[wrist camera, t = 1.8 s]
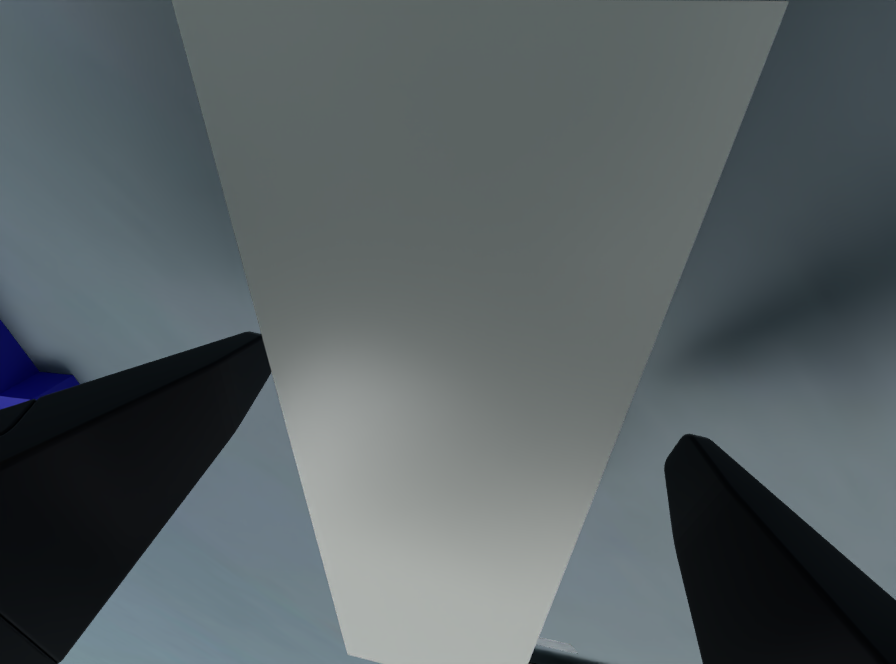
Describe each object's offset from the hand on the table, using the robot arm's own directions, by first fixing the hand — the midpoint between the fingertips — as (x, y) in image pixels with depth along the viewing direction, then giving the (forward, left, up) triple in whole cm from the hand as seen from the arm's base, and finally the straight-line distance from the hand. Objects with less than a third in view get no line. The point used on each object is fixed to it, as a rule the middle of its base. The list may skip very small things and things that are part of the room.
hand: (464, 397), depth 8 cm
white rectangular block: (0, 0, -2) cm, 2 cm away
